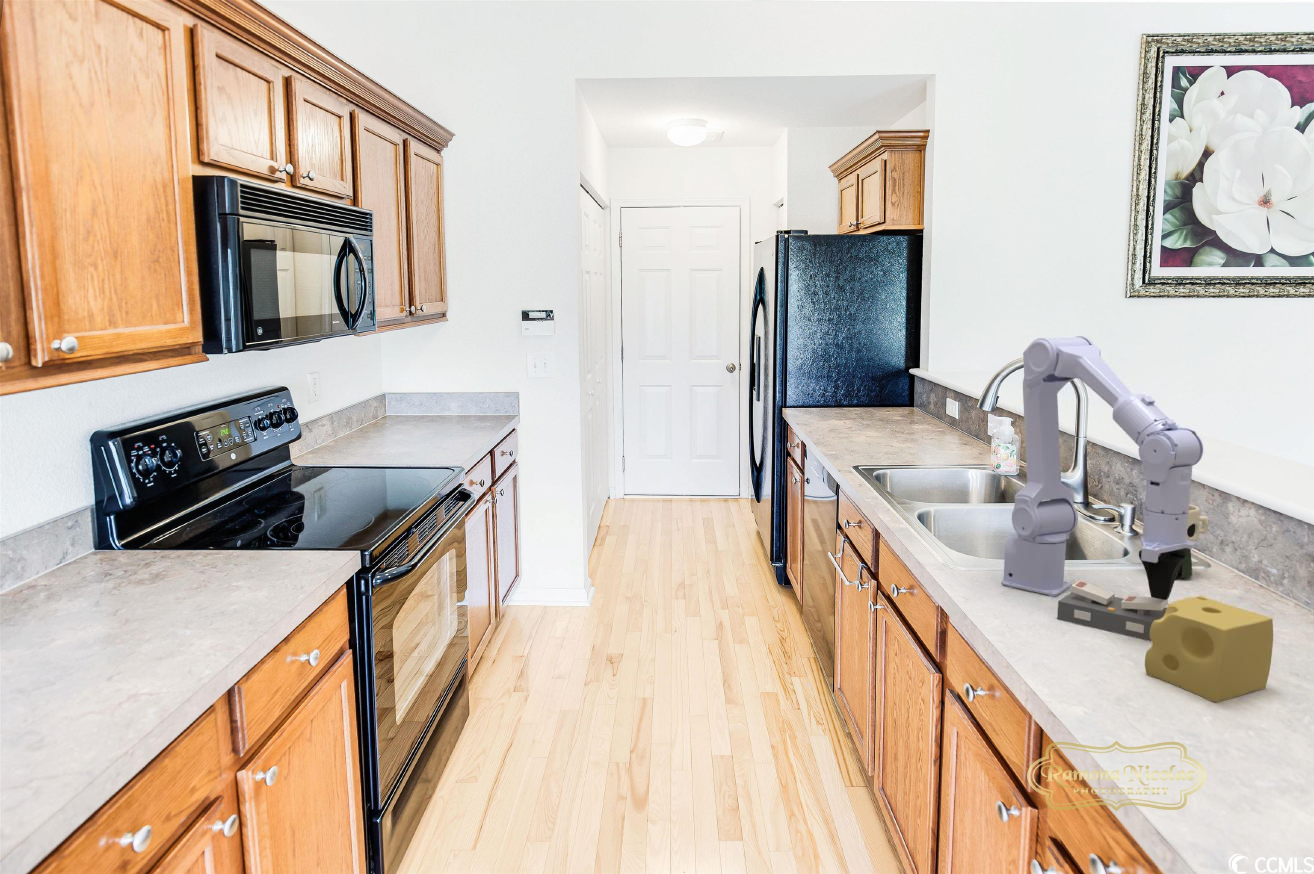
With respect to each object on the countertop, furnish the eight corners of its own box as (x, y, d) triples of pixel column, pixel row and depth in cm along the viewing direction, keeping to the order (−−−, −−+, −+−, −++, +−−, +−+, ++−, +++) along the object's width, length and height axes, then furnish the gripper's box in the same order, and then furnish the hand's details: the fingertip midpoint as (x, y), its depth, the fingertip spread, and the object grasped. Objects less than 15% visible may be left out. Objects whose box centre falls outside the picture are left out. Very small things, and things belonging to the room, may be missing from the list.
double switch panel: (1056, 619, 139) (1058, 597, 138) (1075, 606, 145) (1076, 584, 144) (1161, 643, 129) (1163, 620, 128) (1177, 628, 134) (1179, 605, 134)
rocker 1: (1070, 591, 139) (1071, 584, 139) (1078, 585, 142) (1079, 579, 142) (1106, 604, 136) (1107, 598, 135) (1113, 598, 138) (1115, 592, 138)
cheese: (1143, 674, 119) (1148, 604, 117) (1196, 660, 123) (1202, 592, 121) (1217, 706, 109) (1224, 630, 108) (1273, 689, 113) (1280, 616, 112)
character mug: (1147, 580, 157) (1153, 510, 155) (1132, 568, 164) (1137, 501, 162) (1213, 582, 155) (1219, 511, 153) (1194, 570, 162) (1200, 502, 160)
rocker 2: (1121, 608, 134) (1120, 601, 134) (1129, 602, 137) (1128, 595, 137) (1161, 610, 130) (1160, 603, 130) (1168, 604, 133) (1167, 597, 133)
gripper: (1183, 523, 122) (1175, 616, 124) (1209, 505, 132) (1202, 591, 134) (1128, 515, 127) (1122, 605, 129) (1158, 498, 137) (1152, 581, 139)
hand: (1159, 597), depth 132 cm, fingers closed
